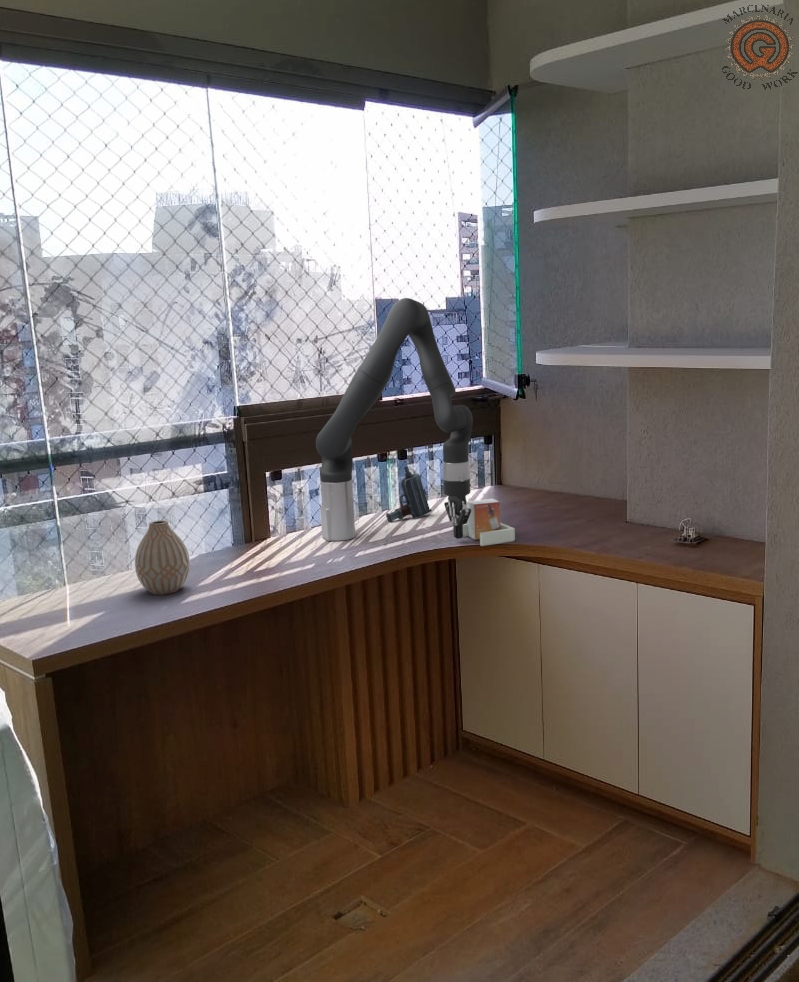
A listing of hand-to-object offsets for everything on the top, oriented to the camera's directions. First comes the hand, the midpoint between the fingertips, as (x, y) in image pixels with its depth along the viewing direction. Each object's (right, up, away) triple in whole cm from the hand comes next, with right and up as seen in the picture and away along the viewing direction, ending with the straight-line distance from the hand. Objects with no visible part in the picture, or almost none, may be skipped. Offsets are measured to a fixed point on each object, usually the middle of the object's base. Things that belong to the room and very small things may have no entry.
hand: (458, 537), depth 268 cm
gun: (-14, +4, +34) cm, 37 cm away
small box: (+8, 0, +5) cm, 9 cm away
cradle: (+8, 0, +3) cm, 9 cm away
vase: (-75, -12, -33) cm, 82 cm away
